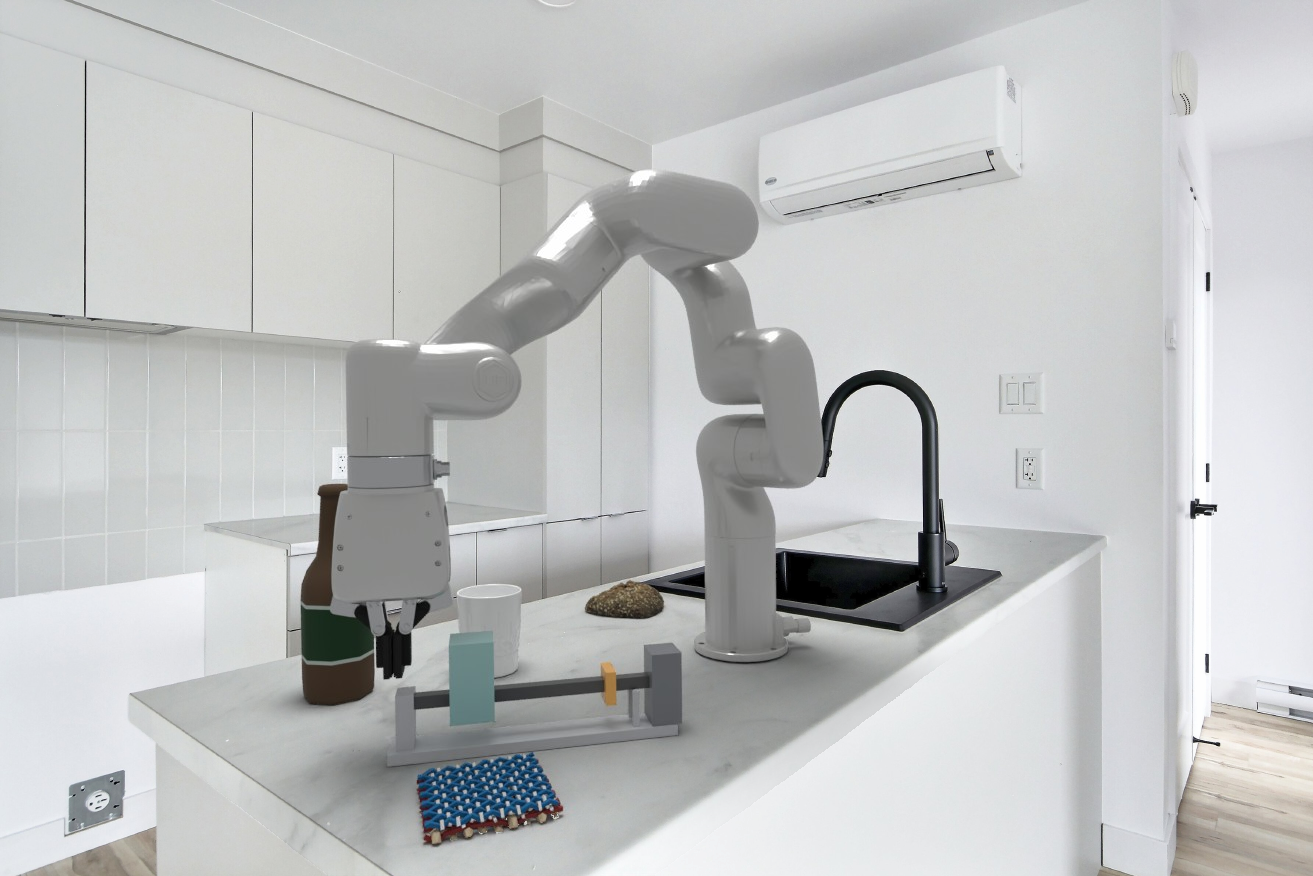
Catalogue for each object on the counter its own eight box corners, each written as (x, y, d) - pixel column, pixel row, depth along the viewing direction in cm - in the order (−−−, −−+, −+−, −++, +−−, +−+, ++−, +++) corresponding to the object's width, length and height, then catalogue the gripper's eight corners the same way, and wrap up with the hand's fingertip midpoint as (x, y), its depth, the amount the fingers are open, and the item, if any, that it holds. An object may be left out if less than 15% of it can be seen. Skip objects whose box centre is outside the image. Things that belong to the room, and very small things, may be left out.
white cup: (507, 682, 89) (506, 598, 89) (446, 679, 91) (445, 596, 91) (531, 662, 97) (530, 584, 97) (474, 658, 99) (473, 583, 98)
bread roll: (644, 624, 116) (644, 591, 116) (575, 616, 122) (575, 585, 122) (677, 605, 128) (677, 576, 128) (613, 599, 133) (613, 570, 133)
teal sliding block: (493, 706, 74) (492, 630, 73) (494, 721, 70) (493, 642, 69) (451, 710, 73) (450, 633, 72) (449, 726, 69) (448, 645, 69)
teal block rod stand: (672, 719, 78) (671, 642, 78) (682, 734, 74) (682, 653, 74) (391, 748, 71) (390, 664, 71) (386, 766, 67) (385, 678, 67)
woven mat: (567, 826, 58) (567, 800, 58) (424, 856, 54) (424, 828, 54) (538, 769, 68) (538, 746, 68) (415, 790, 64) (414, 767, 64)
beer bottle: (329, 711, 81) (325, 488, 80) (286, 698, 85) (282, 485, 84) (389, 689, 87) (386, 483, 87) (347, 678, 92) (343, 481, 91)
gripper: (475, 471, 74) (477, 656, 75) (312, 475, 71) (315, 668, 71) (475, 476, 67) (477, 680, 67) (293, 480, 64) (297, 696, 64)
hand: (394, 674), depth 69 cm, fingers closed
